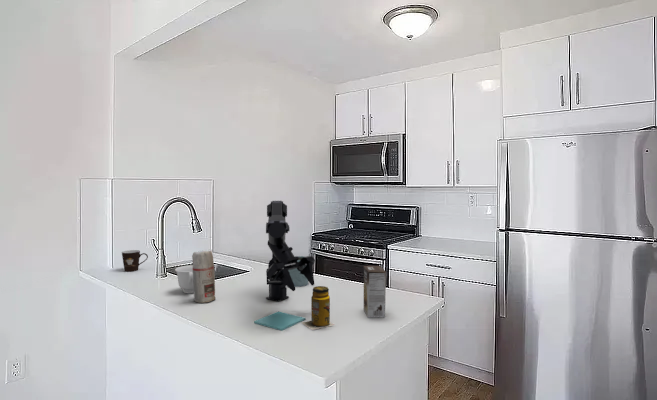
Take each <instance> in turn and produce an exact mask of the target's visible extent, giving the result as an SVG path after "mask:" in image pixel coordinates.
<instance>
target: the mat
mask: <svg viewBox="0 0 657 400" xmlns="http://www.w3.org/2000/svg"><path fill="white" fill-rule="evenodd" d="M305 321H306V317H303V316H301V315H295V314H290V313H286V312H283V311H276V312H274V313H271V314H269V315H266V316H264V317H261V318H259V319H256V320H253V323H254V324H256V325H260V326H264V327H267V328H271V329H275V330H279V331H282V332H283V331H284V330H287V329H289V328H291V327H293V326H294V325H298V324H299V323H302V322H305Z"/></svg>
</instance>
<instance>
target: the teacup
mask: <svg viewBox="0 0 657 400" xmlns="http://www.w3.org/2000/svg"><path fill="white" fill-rule="evenodd" d="M174 271H175V272H176V276H177V277H176V278H177V281H178V286H179V288H180V289H182V290H183V293H184V294H194V285H193V264H191V265H189V264H188V265H183V266H182V265H181V266H179V267H176V268H175V269H174Z"/></svg>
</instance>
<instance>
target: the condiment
mask: <svg viewBox="0 0 657 400" xmlns="http://www.w3.org/2000/svg"><path fill="white" fill-rule="evenodd" d="M329 291H330V289H329V288H328V286H324V285H321V286H320V285H319V286H318V285H317V286H316V285H315V286H314V287H313V288H312V295H311V300H310V301H311V309H310V310H311V314H310V315H311V319H310V320H308V321H302V322H301V324H302V325H303V326H306V327H307V328H309V329H310V330H312V331H314V330H318V329H323V328H329V327H331V326H335V325H336V324H335V323H333V322H331V321H330V320H331V316H330V315H331V313H330V312H331V309H330V305H331V303H330V301H331V297H330V295H329V294H330V292H329Z"/></svg>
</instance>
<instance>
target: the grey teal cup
mask: <svg viewBox="0 0 657 400" xmlns="http://www.w3.org/2000/svg"><path fill="white" fill-rule="evenodd" d="M294 256H295V255H294ZM296 256H297V255H296ZM296 256H295V257H296ZM303 257H306V256H303V255H301V256H300V255H299V256H298V258H299V259H298V260H297V262H300V260H301V259H302V258H303ZM288 271H289V272H290V276H291V278H292V281H293V283H294V286H295V288H296V287H297V288H298V287H299V288H300V287H306V286H308V285H309V281H308V280H307V278H306V277H305V276H304V275H303V274H300V271H298V269H297V268H296V269H292V270H288Z"/></svg>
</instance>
